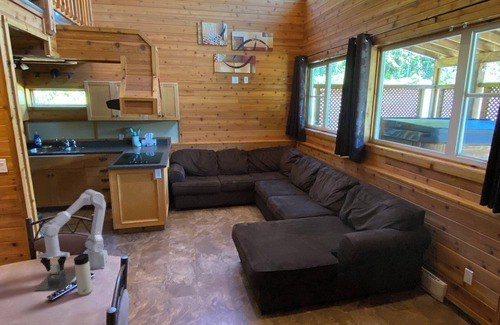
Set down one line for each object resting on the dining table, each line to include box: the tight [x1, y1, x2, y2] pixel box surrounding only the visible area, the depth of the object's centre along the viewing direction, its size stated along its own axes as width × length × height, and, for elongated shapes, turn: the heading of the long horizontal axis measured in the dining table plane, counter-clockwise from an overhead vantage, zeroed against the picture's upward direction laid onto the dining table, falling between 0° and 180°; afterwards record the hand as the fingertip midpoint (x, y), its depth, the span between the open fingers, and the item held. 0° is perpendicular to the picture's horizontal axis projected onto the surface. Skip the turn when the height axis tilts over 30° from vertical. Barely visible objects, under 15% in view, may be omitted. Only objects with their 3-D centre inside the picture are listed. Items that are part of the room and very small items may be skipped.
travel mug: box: [73, 253, 93, 297], centre depth 148 cm, size 6×7×20 cm
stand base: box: [34, 268, 76, 292], centre depth 157 cm, size 14×14×6 cm
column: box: [50, 261, 61, 275], centre depth 156 cm, size 3×3×10 cm
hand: (55, 270), depth 156 cm, fingers open, 6 cm apart
